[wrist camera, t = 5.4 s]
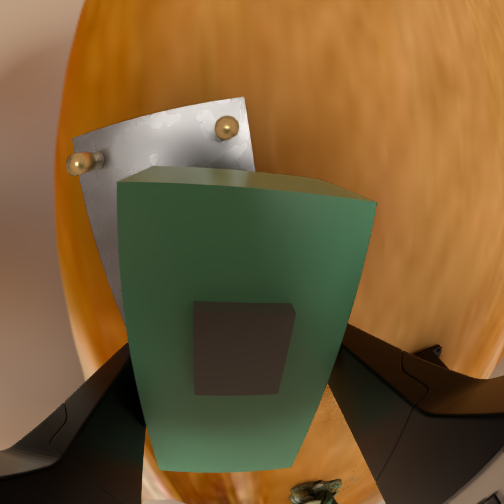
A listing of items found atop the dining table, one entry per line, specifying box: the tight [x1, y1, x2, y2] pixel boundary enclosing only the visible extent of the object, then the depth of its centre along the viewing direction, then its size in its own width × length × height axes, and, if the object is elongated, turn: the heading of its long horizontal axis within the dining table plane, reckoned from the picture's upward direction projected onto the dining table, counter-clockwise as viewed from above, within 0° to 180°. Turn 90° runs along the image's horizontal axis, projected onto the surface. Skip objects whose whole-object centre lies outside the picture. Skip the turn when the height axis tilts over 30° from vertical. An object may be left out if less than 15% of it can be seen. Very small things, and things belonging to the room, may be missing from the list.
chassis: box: [66, 97, 255, 326], centre depth 18 cm, size 17×11×4 cm, turn 8°
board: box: [117, 166, 377, 472], centre depth 8 cm, size 10×5×4 cm, turn 174°
